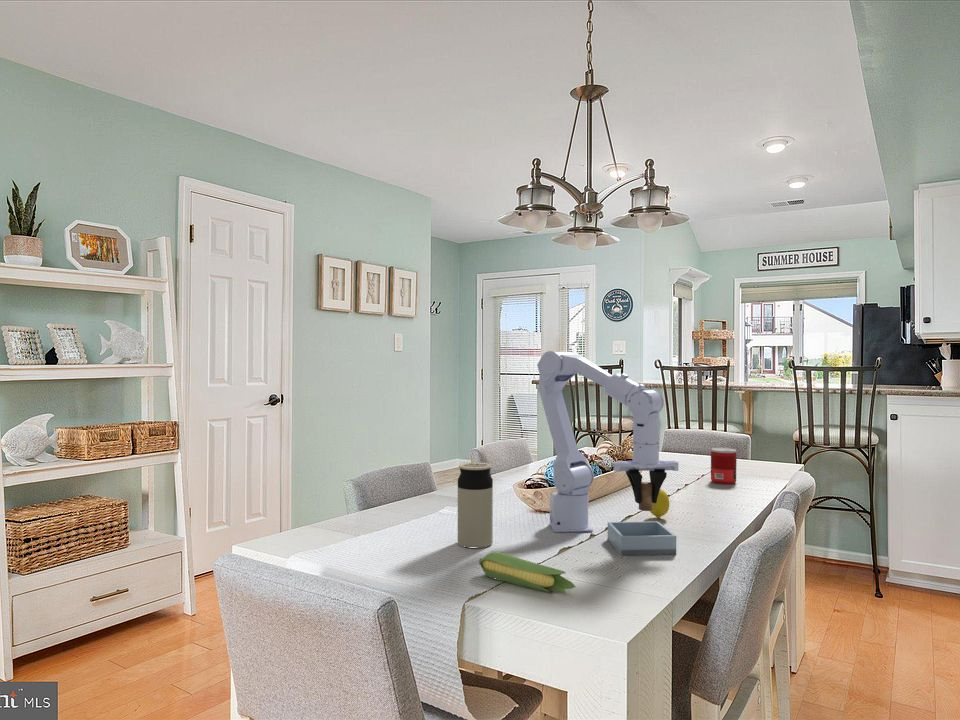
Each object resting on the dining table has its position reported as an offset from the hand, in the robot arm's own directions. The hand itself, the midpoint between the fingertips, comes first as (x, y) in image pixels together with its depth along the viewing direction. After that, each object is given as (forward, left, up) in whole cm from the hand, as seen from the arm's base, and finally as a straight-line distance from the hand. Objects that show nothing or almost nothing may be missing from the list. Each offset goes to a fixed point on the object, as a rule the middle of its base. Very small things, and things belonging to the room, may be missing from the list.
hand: (645, 502), depth 149 cm
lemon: (+10, +22, -10) cm, 26 cm away
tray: (-2, -2, -9) cm, 10 cm away
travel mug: (-39, +2, -10) cm, 40 cm away
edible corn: (-31, -24, -10) cm, 40 cm away
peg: (0, 0, -2) cm, 2 cm away
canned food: (+47, +67, -10) cm, 82 cm away
